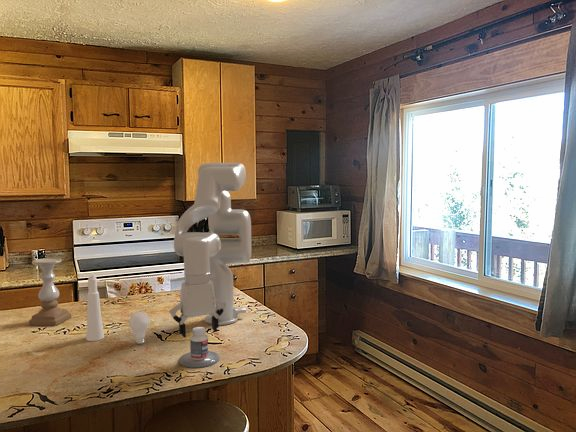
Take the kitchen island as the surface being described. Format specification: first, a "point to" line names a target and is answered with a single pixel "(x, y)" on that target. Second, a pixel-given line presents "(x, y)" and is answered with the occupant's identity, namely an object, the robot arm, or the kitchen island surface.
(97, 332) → the cosmetic bottle
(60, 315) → the candle holder
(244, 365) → the kitchen island surface
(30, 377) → the kitchen island surface
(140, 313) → the light bulb
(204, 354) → the pill bottle
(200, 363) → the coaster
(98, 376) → the kitchen island surface
